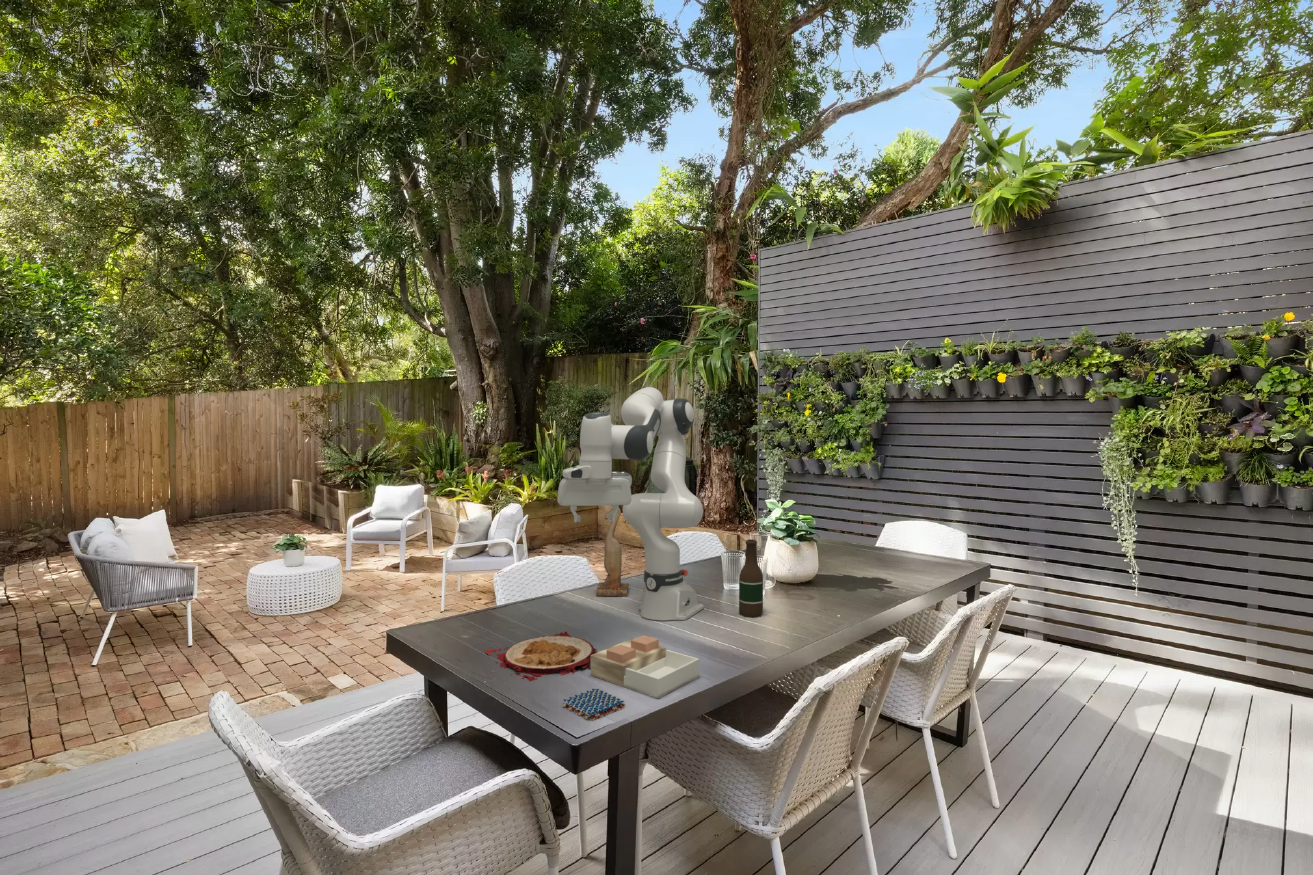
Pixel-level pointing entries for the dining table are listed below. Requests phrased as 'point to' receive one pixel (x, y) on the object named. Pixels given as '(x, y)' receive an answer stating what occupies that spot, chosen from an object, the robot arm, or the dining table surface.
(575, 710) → the woven mat
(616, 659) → the terracotta tile
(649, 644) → the terracotta tile
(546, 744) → the dining table surface
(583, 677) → the dining table surface
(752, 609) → the beer bottle
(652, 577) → the robot arm
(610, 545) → the bird sculpture
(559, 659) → the plate with food
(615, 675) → the wooden box sleeve
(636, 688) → the box
